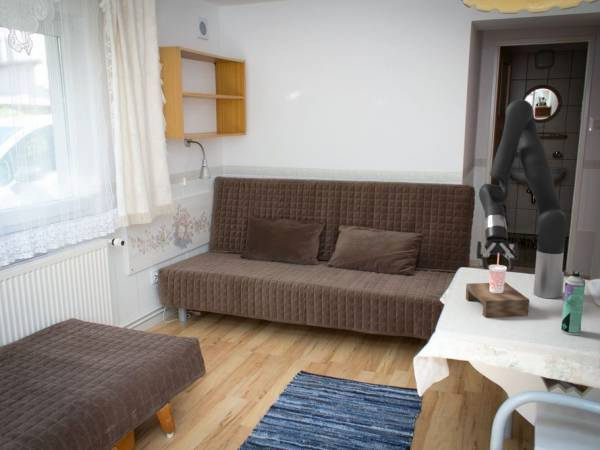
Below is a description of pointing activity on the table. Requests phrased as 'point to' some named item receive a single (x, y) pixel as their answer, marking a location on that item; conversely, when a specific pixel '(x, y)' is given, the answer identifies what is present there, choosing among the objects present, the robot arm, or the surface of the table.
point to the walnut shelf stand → (498, 300)
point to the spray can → (573, 304)
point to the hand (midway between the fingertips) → (498, 268)
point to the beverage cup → (497, 277)
